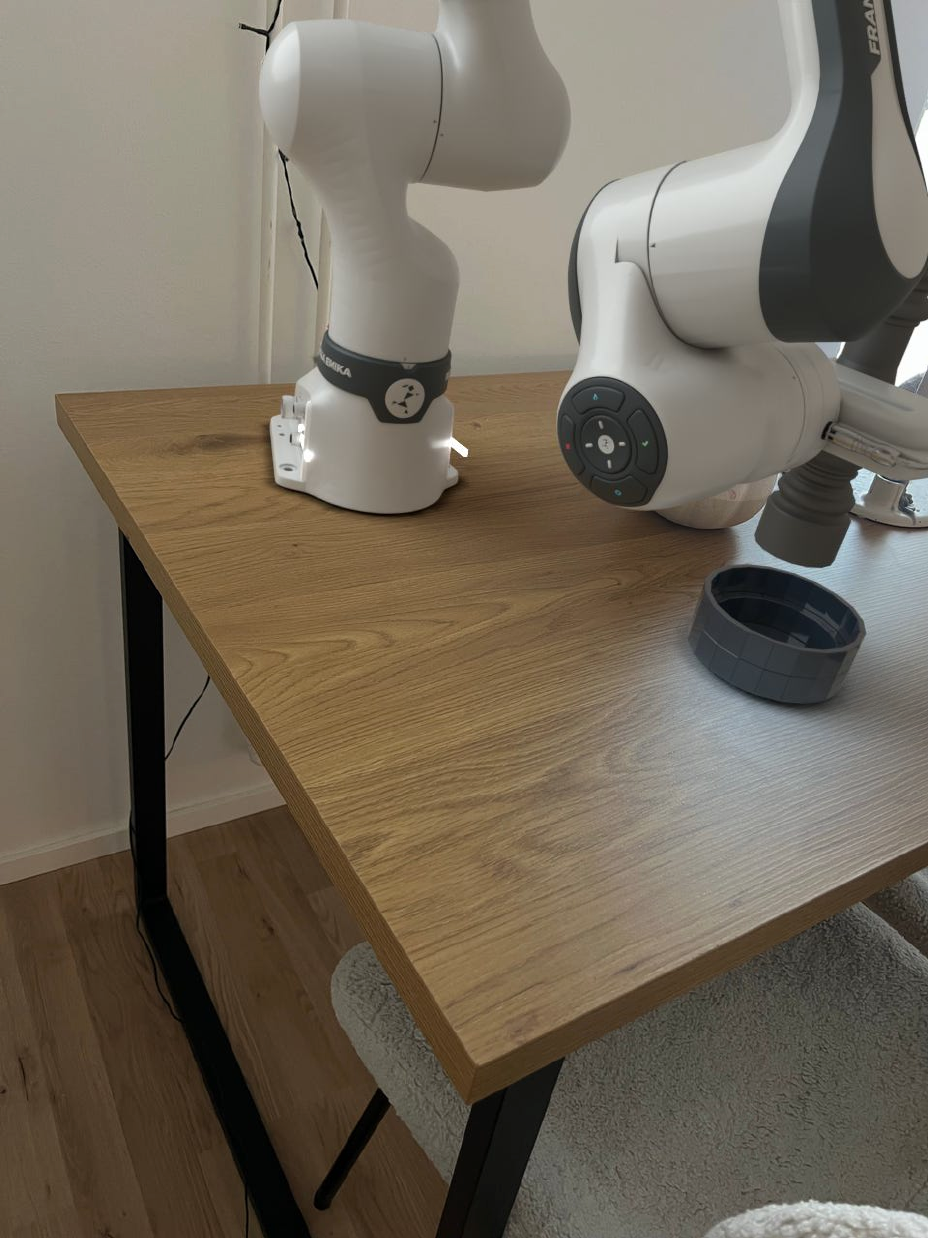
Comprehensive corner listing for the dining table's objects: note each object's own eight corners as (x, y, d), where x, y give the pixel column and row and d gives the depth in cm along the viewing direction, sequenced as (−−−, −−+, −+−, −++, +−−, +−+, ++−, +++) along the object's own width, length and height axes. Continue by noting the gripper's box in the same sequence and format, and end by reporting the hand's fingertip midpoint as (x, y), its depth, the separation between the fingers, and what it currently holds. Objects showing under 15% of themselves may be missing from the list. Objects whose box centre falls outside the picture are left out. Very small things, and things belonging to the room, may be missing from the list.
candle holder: (851, 565, 76) (1004, 219, 63) (789, 570, 73) (936, 210, 60) (798, 526, 80) (930, 195, 67) (737, 529, 78) (863, 185, 64)
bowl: (657, 623, 86) (675, 568, 83) (775, 612, 92) (796, 560, 89) (746, 718, 77) (770, 659, 74) (873, 700, 82) (900, 644, 79)
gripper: (941, 420, 55) (1025, 389, 64) (646, 302, 66) (754, 290, 75) (895, 521, 59) (981, 479, 68) (621, 393, 69) (727, 371, 79)
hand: (859, 379), depth 72 cm, fingers closed on candle holder
